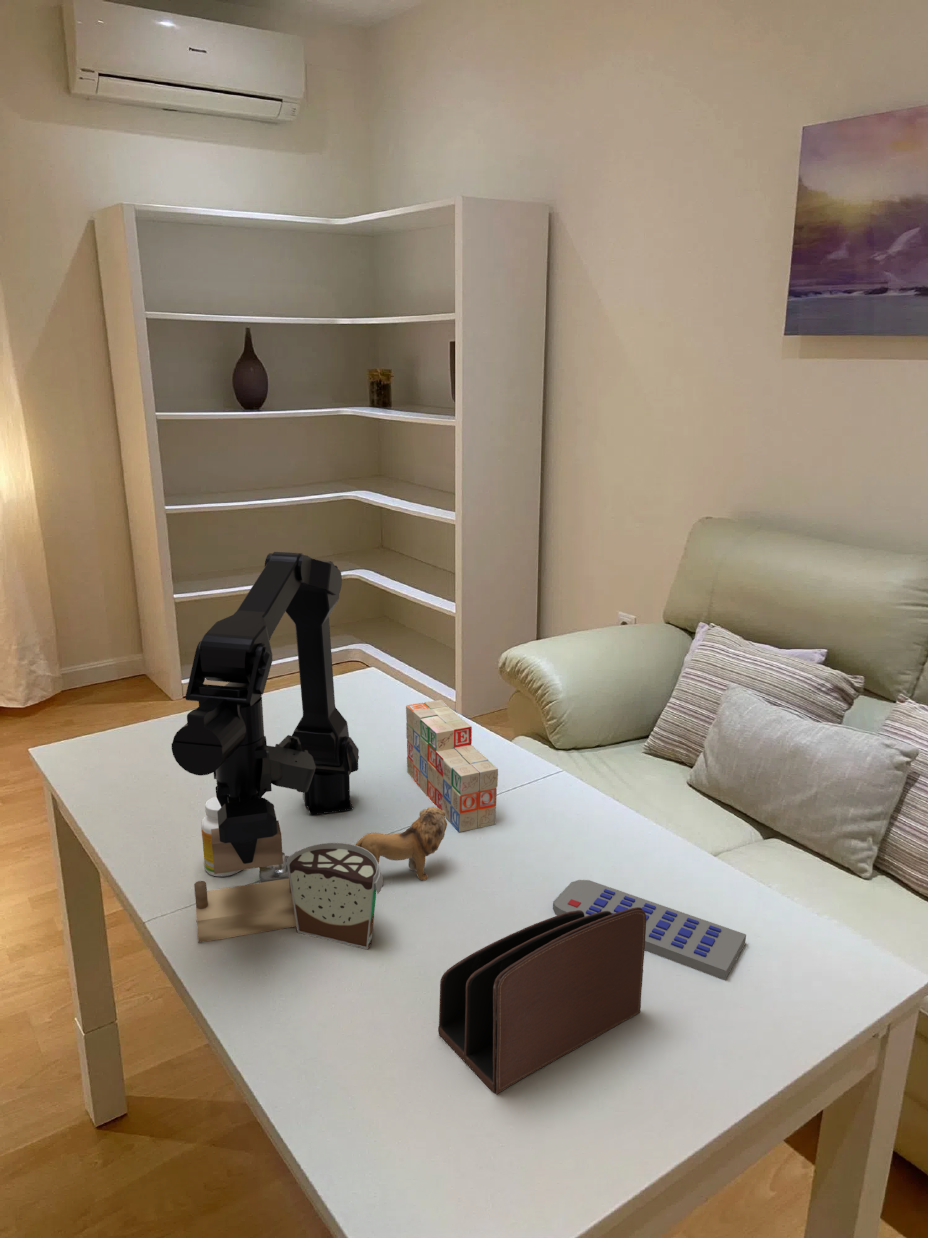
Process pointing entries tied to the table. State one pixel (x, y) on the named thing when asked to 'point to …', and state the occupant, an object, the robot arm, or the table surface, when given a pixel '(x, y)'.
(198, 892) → the peg stand
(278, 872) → the door lever handle
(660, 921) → the remote control
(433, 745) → the stack of blocks
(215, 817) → the supplement bottle
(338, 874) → the food container
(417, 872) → the lion figurine
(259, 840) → the tall brown cuboid
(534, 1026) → the letter holder
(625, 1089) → the table surface
